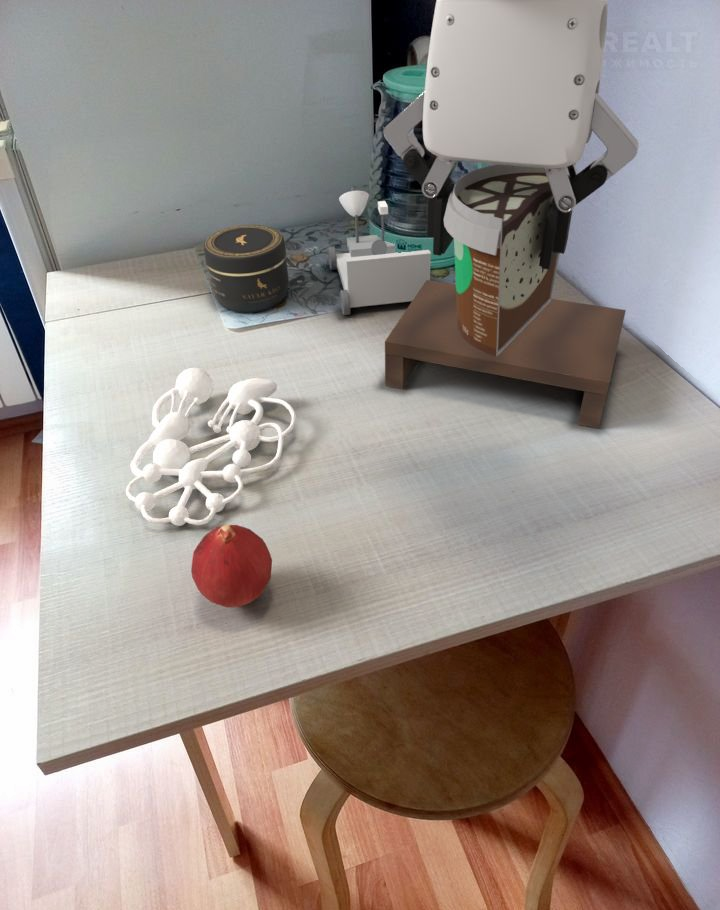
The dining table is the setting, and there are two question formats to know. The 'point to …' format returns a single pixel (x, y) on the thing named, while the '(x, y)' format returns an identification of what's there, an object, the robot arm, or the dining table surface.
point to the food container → (499, 252)
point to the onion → (231, 566)
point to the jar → (247, 267)
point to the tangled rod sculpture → (176, 455)
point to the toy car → (376, 264)
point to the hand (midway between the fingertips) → (494, 252)
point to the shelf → (512, 346)
